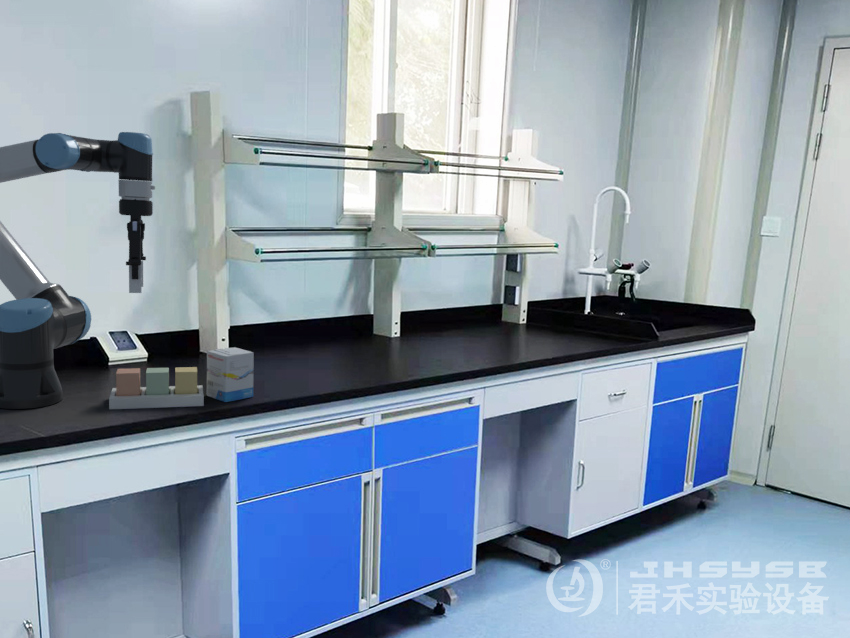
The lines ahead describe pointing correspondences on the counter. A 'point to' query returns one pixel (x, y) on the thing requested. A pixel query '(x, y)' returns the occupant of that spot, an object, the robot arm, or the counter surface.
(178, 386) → the ochre button
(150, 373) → the sage button
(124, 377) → the terracotta button
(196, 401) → the board
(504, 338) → the counter surface
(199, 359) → the counter surface
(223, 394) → the ink box
